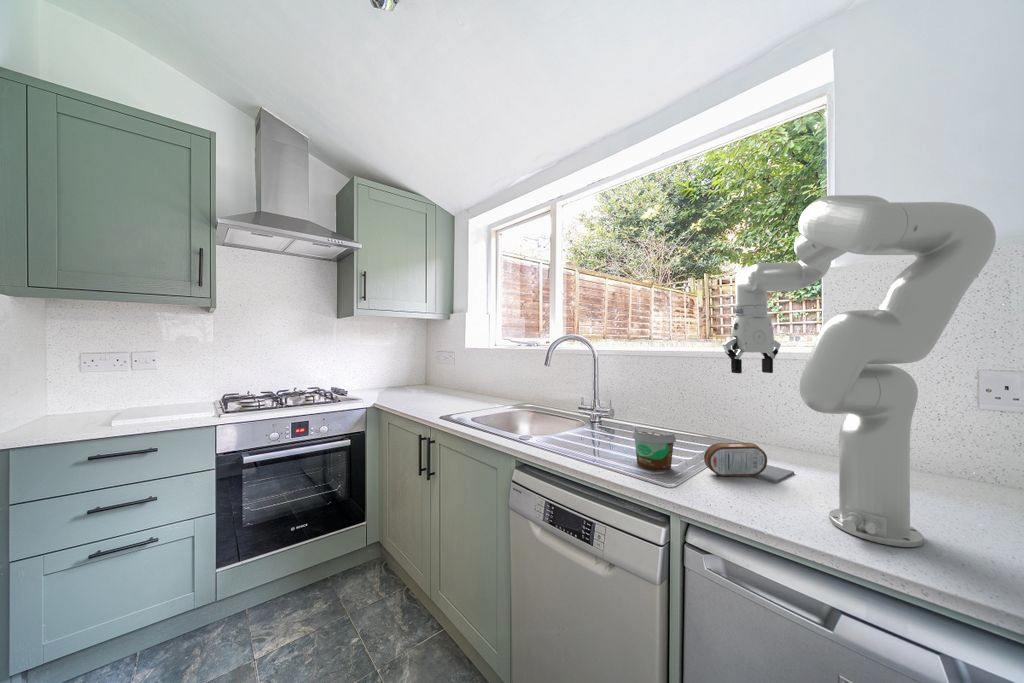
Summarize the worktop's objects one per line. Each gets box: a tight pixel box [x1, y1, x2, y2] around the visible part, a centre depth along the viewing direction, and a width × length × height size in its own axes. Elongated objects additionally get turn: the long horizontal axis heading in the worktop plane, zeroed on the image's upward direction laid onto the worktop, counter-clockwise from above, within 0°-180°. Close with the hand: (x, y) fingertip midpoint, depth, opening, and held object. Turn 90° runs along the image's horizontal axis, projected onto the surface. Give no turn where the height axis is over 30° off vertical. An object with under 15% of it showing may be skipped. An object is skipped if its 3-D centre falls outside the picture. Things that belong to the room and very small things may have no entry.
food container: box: [631, 427, 677, 472], centre depth 103 cm, size 12×6×10 cm, turn 47°
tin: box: [703, 442, 768, 477], centre depth 96 cm, size 15×3×8 cm, turn 84°
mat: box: [750, 464, 795, 484], centre depth 101 cm, size 12×16×1 cm
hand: (752, 372), depth 103 cm, fingers open, 9 cm apart
